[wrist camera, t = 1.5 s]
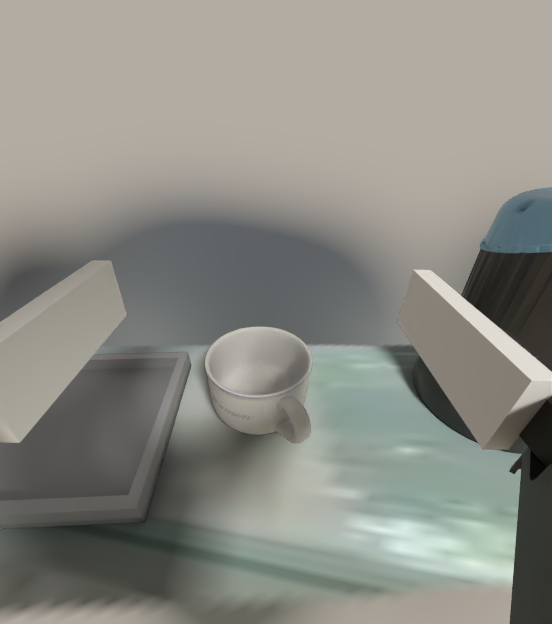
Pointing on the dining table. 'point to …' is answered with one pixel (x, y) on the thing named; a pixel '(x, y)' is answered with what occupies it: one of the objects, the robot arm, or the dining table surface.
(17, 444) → the tray
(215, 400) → the teacup
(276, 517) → the dining table surface
